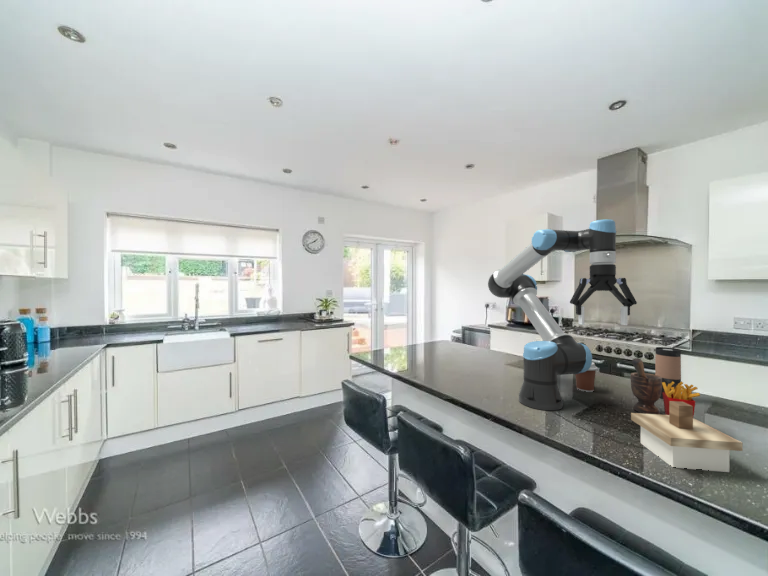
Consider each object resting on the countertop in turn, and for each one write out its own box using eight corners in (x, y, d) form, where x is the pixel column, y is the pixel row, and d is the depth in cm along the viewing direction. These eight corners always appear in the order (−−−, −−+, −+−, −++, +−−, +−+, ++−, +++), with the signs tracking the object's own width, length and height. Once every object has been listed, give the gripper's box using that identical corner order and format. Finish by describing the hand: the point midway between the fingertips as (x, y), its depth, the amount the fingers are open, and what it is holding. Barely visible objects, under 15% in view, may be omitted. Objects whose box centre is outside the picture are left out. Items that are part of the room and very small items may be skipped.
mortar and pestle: (662, 421, 101) (662, 362, 101) (629, 414, 107) (629, 358, 107) (661, 411, 110) (661, 356, 110) (631, 405, 116) (631, 352, 116)
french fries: (661, 420, 102) (661, 376, 102) (695, 426, 98) (695, 380, 98) (669, 431, 95) (669, 383, 95) (706, 438, 90) (706, 387, 90)
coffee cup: (570, 389, 134) (570, 362, 134) (576, 384, 140) (576, 358, 140) (594, 394, 127) (594, 366, 127) (600, 389, 133) (600, 362, 133)
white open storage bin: (672, 467, 76) (672, 443, 76) (640, 443, 87) (640, 422, 87) (729, 472, 74) (729, 447, 74) (688, 446, 85) (688, 425, 85)
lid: (670, 445, 74) (670, 413, 74) (631, 419, 89) (631, 392, 89) (742, 451, 72) (742, 417, 72) (689, 423, 87) (689, 395, 87)
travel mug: (683, 399, 122) (683, 349, 122) (678, 403, 118) (678, 351, 118) (658, 393, 129) (658, 346, 129) (652, 397, 124) (652, 348, 124)
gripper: (568, 264, 105) (568, 325, 105) (649, 263, 101) (649, 326, 101) (559, 265, 113) (559, 322, 113) (635, 264, 109) (635, 324, 109)
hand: (602, 324), depth 107 cm, fingers open, 13 cm apart
